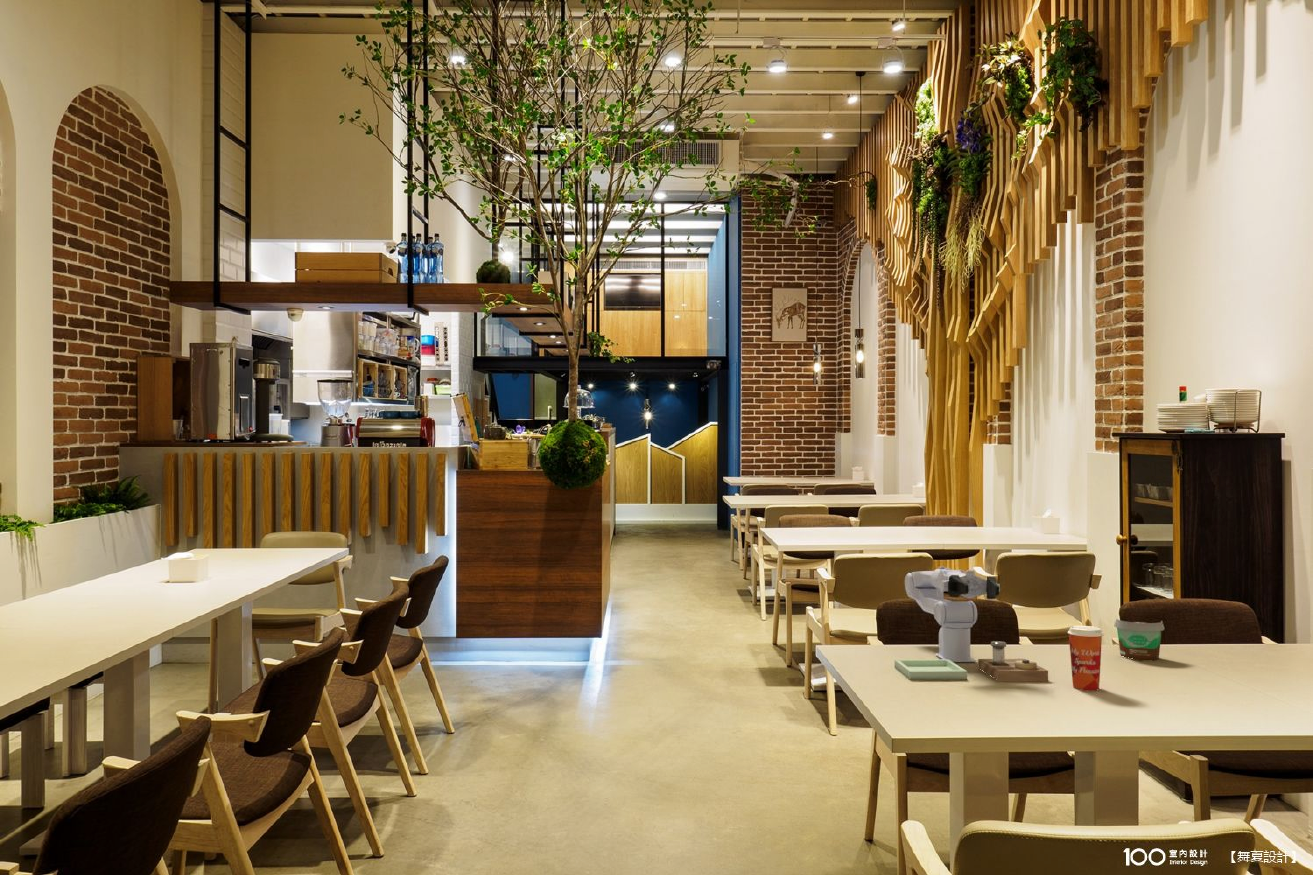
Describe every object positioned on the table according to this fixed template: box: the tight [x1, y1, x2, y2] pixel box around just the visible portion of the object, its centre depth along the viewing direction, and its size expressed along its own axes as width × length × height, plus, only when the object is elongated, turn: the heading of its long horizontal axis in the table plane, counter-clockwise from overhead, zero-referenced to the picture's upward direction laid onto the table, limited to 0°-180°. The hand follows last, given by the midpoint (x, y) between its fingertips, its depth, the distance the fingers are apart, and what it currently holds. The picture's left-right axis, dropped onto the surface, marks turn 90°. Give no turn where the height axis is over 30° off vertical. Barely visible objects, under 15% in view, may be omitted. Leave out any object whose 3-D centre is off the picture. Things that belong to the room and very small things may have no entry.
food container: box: [1113, 618, 1165, 661], centre depth 259 cm, size 12×6×10 cm, turn 73°
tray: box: [894, 658, 968, 681], centre depth 241 cm, size 14×14×2 cm
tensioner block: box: [977, 658, 1049, 682], centre depth 240 cm, size 14×12×4 cm
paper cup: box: [1067, 625, 1105, 691], centre depth 226 cm, size 8×8×14 cm
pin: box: [990, 640, 1007, 666], centre depth 241 cm, size 4×4×8 cm
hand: (982, 589), depth 239 cm, fingers open, 7 cm apart
